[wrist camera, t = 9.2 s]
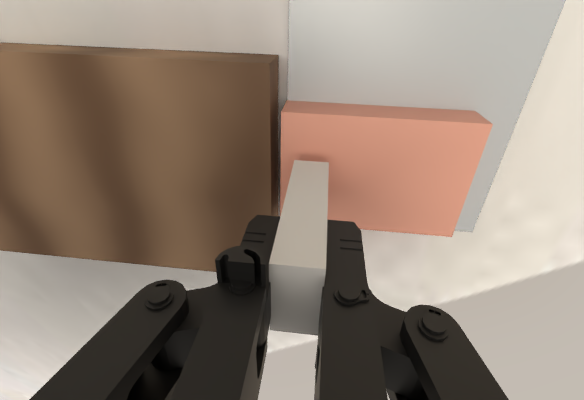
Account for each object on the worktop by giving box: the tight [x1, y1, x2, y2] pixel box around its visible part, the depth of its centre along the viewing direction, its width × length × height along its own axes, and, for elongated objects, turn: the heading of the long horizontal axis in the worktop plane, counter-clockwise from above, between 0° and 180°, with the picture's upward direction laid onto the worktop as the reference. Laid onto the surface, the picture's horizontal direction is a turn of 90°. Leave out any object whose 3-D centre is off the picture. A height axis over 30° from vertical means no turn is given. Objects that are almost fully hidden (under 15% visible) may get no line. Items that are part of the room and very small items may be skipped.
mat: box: [287, 0, 566, 232], centre depth 16 cm, size 11×12×1 cm
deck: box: [0, 43, 278, 272], centre depth 18 cm, size 18×12×2 cm, turn 88°
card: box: [280, 100, 493, 237], centre depth 16 cm, size 9×6×2 cm, turn 88°
